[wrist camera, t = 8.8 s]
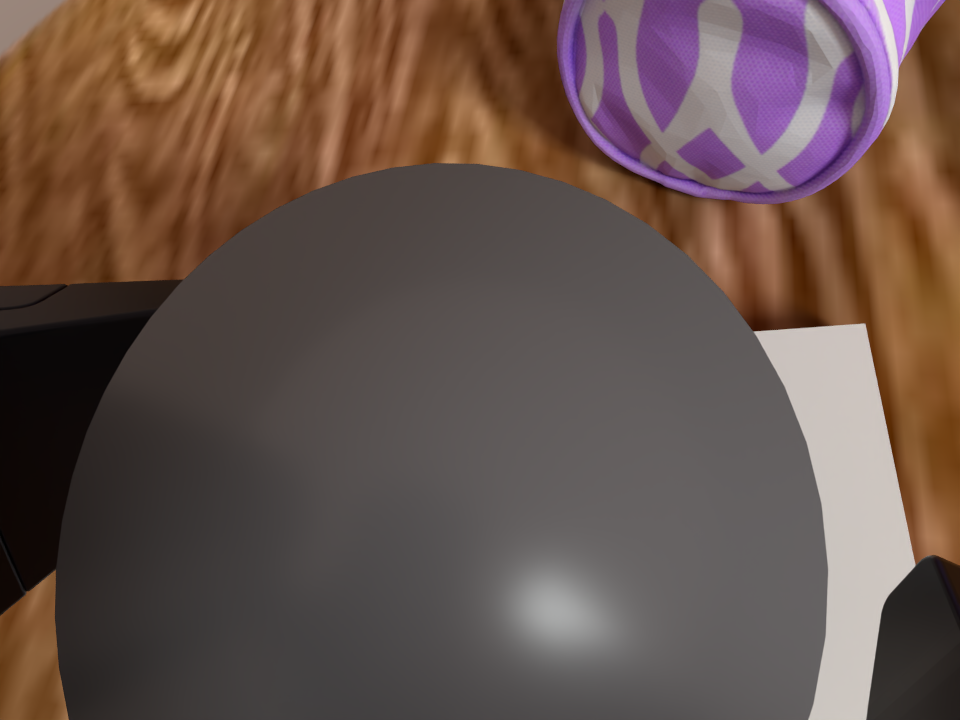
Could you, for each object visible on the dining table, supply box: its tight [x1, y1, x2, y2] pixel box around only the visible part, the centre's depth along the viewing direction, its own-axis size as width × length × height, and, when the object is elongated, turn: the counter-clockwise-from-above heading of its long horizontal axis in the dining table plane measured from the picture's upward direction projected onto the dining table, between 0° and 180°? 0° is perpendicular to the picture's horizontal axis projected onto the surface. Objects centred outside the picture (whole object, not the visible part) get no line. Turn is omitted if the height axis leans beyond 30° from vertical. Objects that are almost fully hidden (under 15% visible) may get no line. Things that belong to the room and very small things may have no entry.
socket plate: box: [754, 324, 915, 720], centre depth 15 cm, size 18×14×4 cm
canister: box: [55, 163, 828, 720], centre depth 10 cm, size 5×5×12 cm
